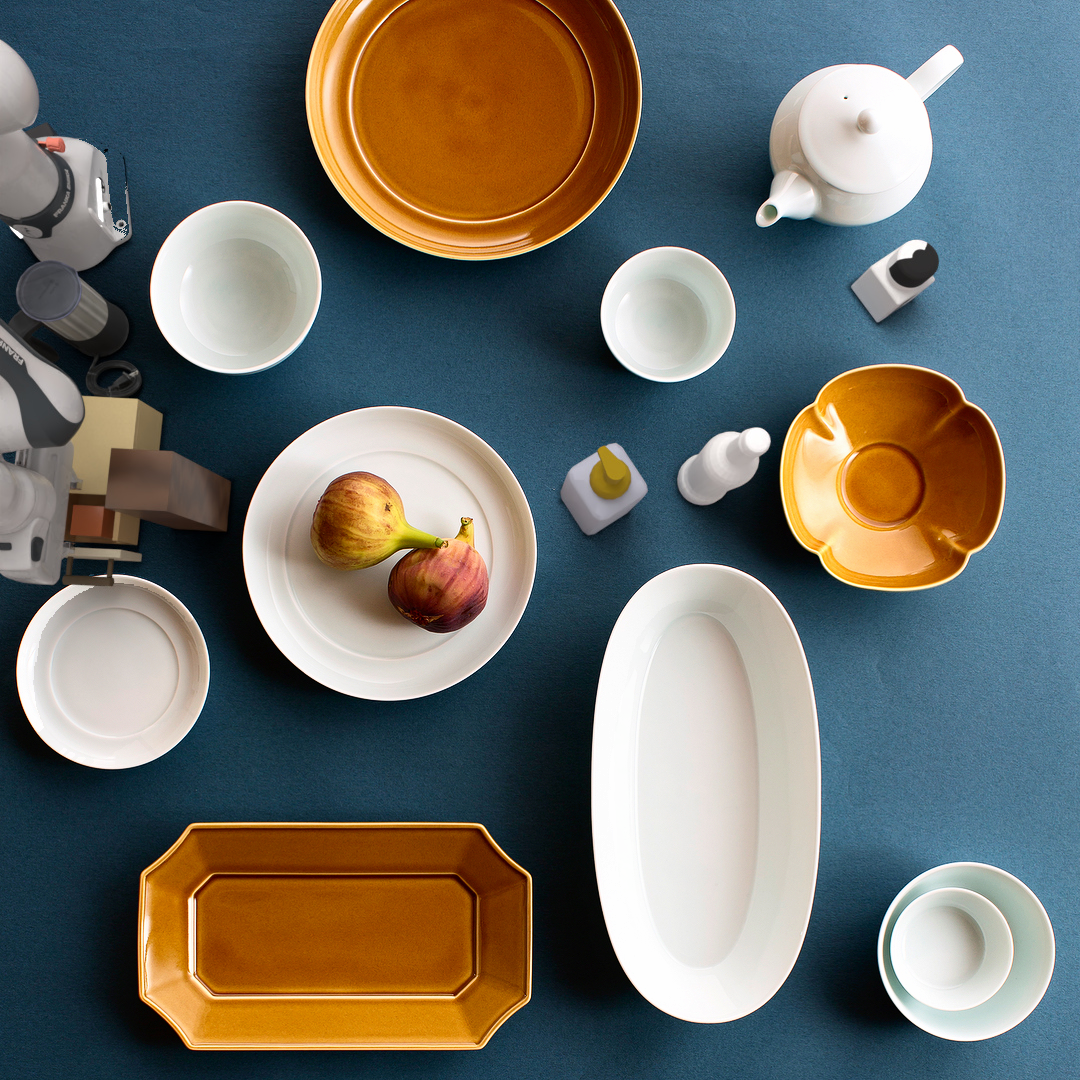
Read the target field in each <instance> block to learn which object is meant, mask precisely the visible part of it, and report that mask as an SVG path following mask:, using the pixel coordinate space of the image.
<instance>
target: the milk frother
mask: <svg viewBox="0 0 1080 1080" xmlns="http://www.w3.org/2000/svg"><path fill="white" fill-rule="evenodd" d="M16 284H17V285H16V289H15V296H16V301H17V305H18V306H19V308H20V310H19V311H18V312H17V313H15V314H14V316H12V318H11V319H10V320H9V321H8V324H7V325H8V326H9V327H10V328H12V329H13V330H14V331H15V332H16V333H17V334H18V335H19V336H20V337H21V338H22V339H23V340H24V341H25V342H26V343H27V344H28V345H29V346H31V347H32V348H33V349H34V350H35V351H36V352H37V353H39V354H40V355H41V356H43V357H44V358H46V359H47V360H49V361H50V362H52V363H53V364H55V363H56V362H59V360H60V355H59V352H58V351H57V350H56V349H55V348H54V347H53V346H52V345H50V344H48V343H47V342H45V341H43V340H42V339H39V338H38V337H36V336H34V334H35V333H36V332H37V331H38V330H39V329H41V328H42V327H43V328H44V329H46V330H48V331H49V332H51V333H53V334H54V335H55V336H57V337H58V338H59V339H61V340H63V341H64V342H66V343H67V344H69V345H70V346H71V347H73V348H75V349H77V350H79V351H80V352H81V353H83V354H84V355H87V356H89V357H93V361H92V363H91V365H90V367H89V369H88V371H87V373H86V376H85V385H86V388H87V389H88V391H89V392H90V393H91V394H92V395H94V396H95V397H111V398H129V397H130V396H132V395H134V394H135V393H136V392H137V391H139V390H140V388H141V386H142V383H143V377H142V374H141V372H140V371H139V369H138V368H137V367H136V366H135V365H134V364H132V363H131V362H129V361H127V360H120V359H112V360H106V361H103V362H101V363H98V364H97V362H98V361H99V359H100V358H102V357H103V358H104V357H107V356H110V355H112V354H114V353H116V352H118V351H119V350H120V349H121V348H122V347H123V346H124V344H125V343H126V341H127V340H128V337H129V332H130V324H129V321H128V318H127V315H126V314H125V312H124V311H123V310H122V308H120V307H118V306H117V305H115V304H113V303H111V302H110V301H108V300H107V299H106V298H105V297H103V296H102V295H101V294H100V293H99V292H97V291H96V290H95V289H94V288H93V287H91V286H90V285H89V284H88V283H87V282H86V281H84V280H83V278H81V277H80V276H79V274H78V271H76V270H75V269H74V268H72V267H70V266H69V265H67V264H65V263H63V262H60V261H54V260H48V261H42V262H41V261H38V262H36V263H34V264H32V265H31V266H30V267H28V268H26V269H25V271H24V272H23V273H22V274H21V275H20V277H19V279H18V282H17V283H16ZM109 369H123V370H126V371H128V372H130V373H127V372H125V371H122V375H120V376H119V377H118V378H117V379H116V380H115V381H113V383H112V384H111V385H110V386H107V388H103V387H102V386H99V385H98V383H97V380H98V377H99V375H100V374H102V372H104V371H106V370H109Z"/></svg>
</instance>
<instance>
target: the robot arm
mask: <svg viewBox="0 0 1080 1080" xmlns="http://www.w3.org/2000/svg"><path fill="white" fill-rule="evenodd" d="M39 108H40V94H39V88H38V84H37V81H36V79H35V77H34V74H33V72H32V70H31V69H30V67H29V66H28V65H27V63H26V61H25V60H24V59H23V57H22V56H21V55H20V54H19V53H18V52H17V51H16V50H15V49H13V48H12V47H11V46H10V45H9V44H8V43H6V42H5V41H3V39H0V220H1V221H2V222H3V223H4V224H5V225H7V226H8V227H9V228H10V229H11V231H12V232H13V233H14V234H15V235H16V236H17V237H18V238H19V239H22V240H23V241H24V242H25V243H26V244H27V246H28V247H29V249H30V250H31V251H32V253H33V255H34V256H35V257H36V258H37V259H38V260H39V262H42V261H48V260H54V261H60V262H63V263H65V264H67V265H69V266H70V267H72V268H74V269H75V270H76V271H77V272H82V271H85V270H88V269H91V268H93V267H95V266H96V265H99V263H101V262H103V260H105V259H106V258H107V257H108V256H109V254H110V253H111V252H112V251H113V250H114V249H115V248H116V247H119V246H120V245H123V244H124V243H126V242H127V241H129V240H130V239H131V237H132V235H133V229H132V219H131V208H130V199H129V189H128V185H127V186H126V187H127V189H126V190H125V194H126V204H127V214H128V224H129V233H128V235H127V236H126V234H125V233H126V232H125V233H123V232H124V231H123V230H125V228H124V227H125V226H126V225H127V224H126V222H125V221H124V220H122V219H121V220H118V221H117V222H116V225H115V224H114V222H113V218H112V214H111V213H112V212H111V210H112V206H111V203H110V194H109V185H108V173H107V162H106V160H107V159H106V157H105V155H104V154H103V153H102V152H101V151H100V150H98V149H97V148H96V147H94V146H93V145H91V144H89V143H87V142H85V141H82V140H79V139H80V138H74V137H70V136H60V135H59V134H58V132H57V131H56V130H55V129H54V128H53V127H52V126H51V125H50V124H49V122H47V121H46V122H44V123H42V124H39V125H37V126H35V127H32V128H30V129H28V130H26V131H24V130H23V129H26V128H28V127H30V126H32V125H33V124H34V123H35V121H36V118H37V117H38V113H39ZM125 183H126V182H125ZM126 187H125V188H126ZM127 190H128V191H127ZM122 225H123V226H122ZM113 226H115V227H117V228H118V229H122V230H121V231H123V232H122V233H121V231H120V232H119V230H118V231H117V229H116V230H115V228H114V227H113ZM123 228H124V229H123ZM125 231H127V229H126V230H125ZM124 234H125V235H124ZM125 236H126V237H125ZM124 237H125V238H124ZM121 239H122V240H121ZM82 396H83V395H82V393H81V390H80V388H79V386H78V385H77V384H76V382H75V381H74V379H72V377H71V376H70V375H69V374H68V373H66V372H65V371H64V370H63V369H62V368H60V367H59V366H57V365H56V364H55V363H52V362H50V361H49V360H47V359H46V358H44V357H43V356H41V355H40V354H39V353H37V352H36V351H35V350H34V349H33V348H32V347H31V346H29V345H28V344H27V343H26V342H25V341H24V340H23V339H22V338H21V337H20V336H19V335H18V334H17V333H16V332H15V331H14V330H13V329H12V328H10V327H9V326H8V324H7V322H5V321H4V320H3V319H2V318H1V317H0V574H1V575H2V576H3V577H5V578H7V579H9V580H12V581H16V582H20V583H24V584H32V585H42V586H43V585H45V586H46V585H48V586H54V585H55V584H57V583H58V581H59V580H60V577H61V569H62V568H61V567H62V560H63V559H65V558H64V557H65V556H66V555H68V554H69V553H75V547H76V542H70V541H65V540H64V534H65V526H66V517H67V508H68V500H69V491H70V489H71V490H82V483H83V480H81V479H78V477H77V475H76V473H75V471H74V469H73V468H72V465H73V456H74V445H73V443H72V441H71V439H72V438H73V437H74V435H75V434H76V433H77V431H78V430H79V428H80V427H81V425H82V423H83V420H84V418H85V405H84V401H83V397H82ZM13 452H15V460H14V463H11V462H9V461H7V460H5V459H4V456H3V454H7V453H13Z"/></svg>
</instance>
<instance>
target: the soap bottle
mask: <svg viewBox="0 0 1080 1080" xmlns="http://www.w3.org/2000/svg"><path fill="white" fill-rule="evenodd" d="M648 491H649V490H648V485H647V483H646V481H645V480H644V478H643V477H642V475H641V473H640V471H638V469H637V468H636V466H635V464H634V462H633V461H632V460H631V458H630V457H629V455H628V454H627V452H626V451H625V450H624V448H623V446H621V445H620V444H618V443H617V442H614V443H608V444H606V445H603V446H600V447H599V448H598V449H597V450H596V451H595V452H594V453H592V454H591V455H589V456H588V457H586V458H584V459H583V460H581V461H580V462H578V463H577V464H575V465H573V466H572V467H570V469H569V470H568V472H567V473H566V476H565V479H564V482H563V484H562V487H561V489H560V492H559V494H560V498H561V500H562V502H563V503H564V505H565V506H566V508H567V510H568V511H569V512H570V514H571V516H572V518H573V519H574V521H575V522H576V524H577V525H578V526H579V528H580V530H581V531H582V532H583V533H584V534H585V535H587V536H591V535H596V534H597V533H598V532H600V531H601V530H603V529H605V528H606V527H608V526H609V525H611V524H613V523H614V522H615V521H617V520H619V519H620V518H622V517H623V516H625V515H627V514H628V513H629V512H630V511H631V510H633V508H634V507H635V506H636V505H637V504H638V503H639V502H640V501H642V499H643V498H645V496H646V494H647V493H648Z"/></svg>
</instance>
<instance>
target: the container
mask: <svg viewBox="0 0 1080 1080" xmlns="http://www.w3.org/2000/svg"><path fill="white" fill-rule="evenodd" d="M939 265H940V258H939V254H938V252H937V250H936V249H935V247H934V246H933V245H931V244H930V243H929V242H927V241H925V240H921V239H912V240H908V241H906V242H904V243H903V244H902V245H900V246H899V247H897V248H896V249H894V250H893V251H891V252H890V253H888V254H887V255H886V256H884V257H882V258H881V259H879V260H878V261H876V262H875V263H874V264H872V265H870V266H869V267H868V268H867V270H865V271H864V272H863V273H862V274H861V275H860V276H859V277H858V279H856V280H855V281H854V282H853V283H852V285H851V286H850V288H851V289H852V291H853V292H854V294H855V295H856V297H857V298H858V299H859V300H860V302H861V303H862V305H863V306H864V307H865V309H866V310H867V311H868V312H869V314H870V316H871V317H872V318H873V320H874V321H875V322H876V323H880V322H881V321H883V320H884V319H886V318H887V317H889V316H890V315H892V314H893V313H894V312H896V311H897V310H899V309H901V308H902V307H904V306H905V305H907V304H908V303H910V302H911V301H913V299H915V298H916V297H917V296H919V295H920V294H921V293H922V292H924V291H925V290H926V289H928V288H929V287H930V286H931V285H933V283H934V282H935V281H936V278H935V277H934V275H935V274H936V273H937V271H938V268H939Z"/></svg>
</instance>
